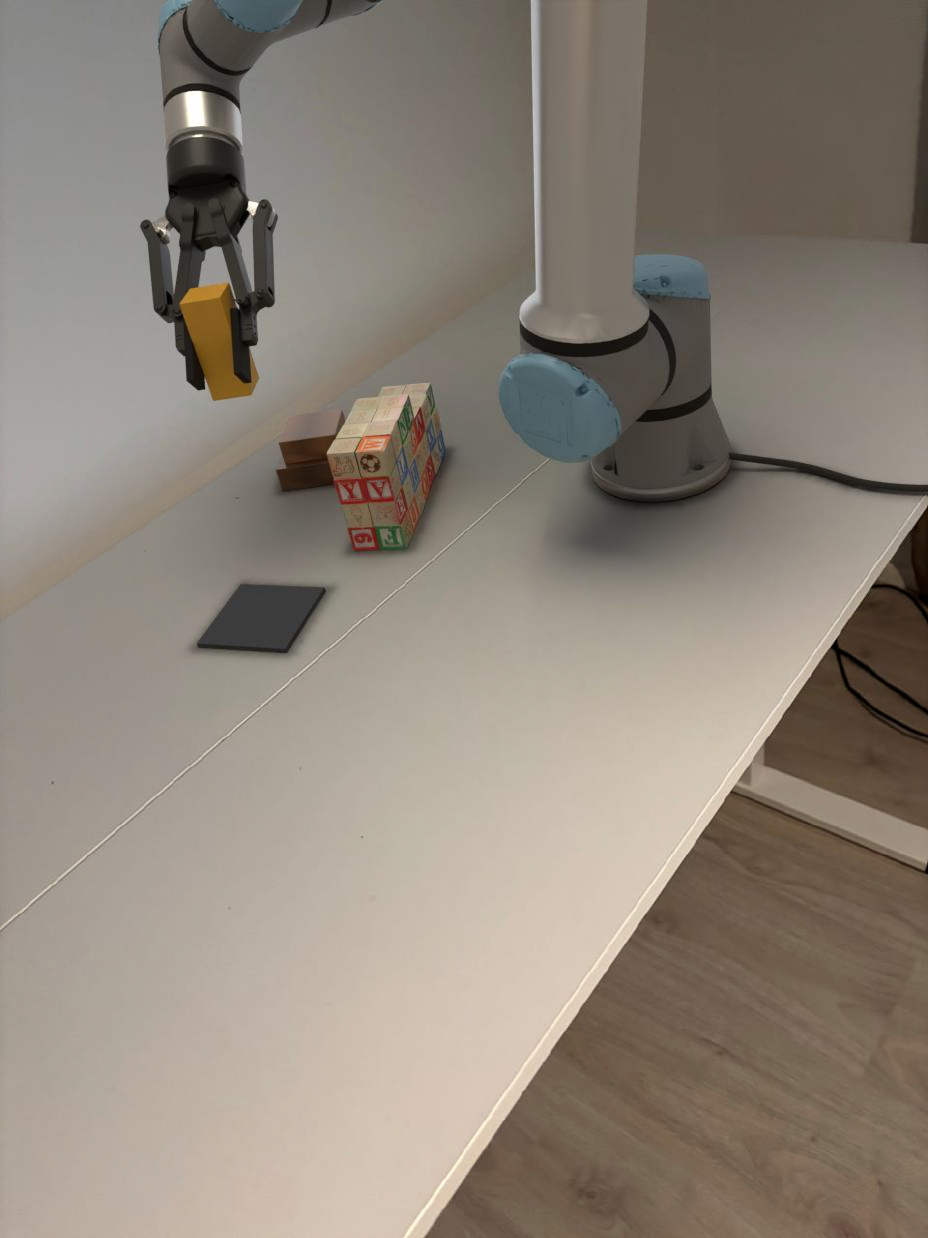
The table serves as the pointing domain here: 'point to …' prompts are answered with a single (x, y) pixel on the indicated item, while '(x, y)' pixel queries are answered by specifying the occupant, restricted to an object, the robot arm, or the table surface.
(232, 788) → the table surface
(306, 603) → the mat
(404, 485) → the stack of blocks
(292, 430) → the dark wooden step block
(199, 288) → the bar
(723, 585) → the table surface
